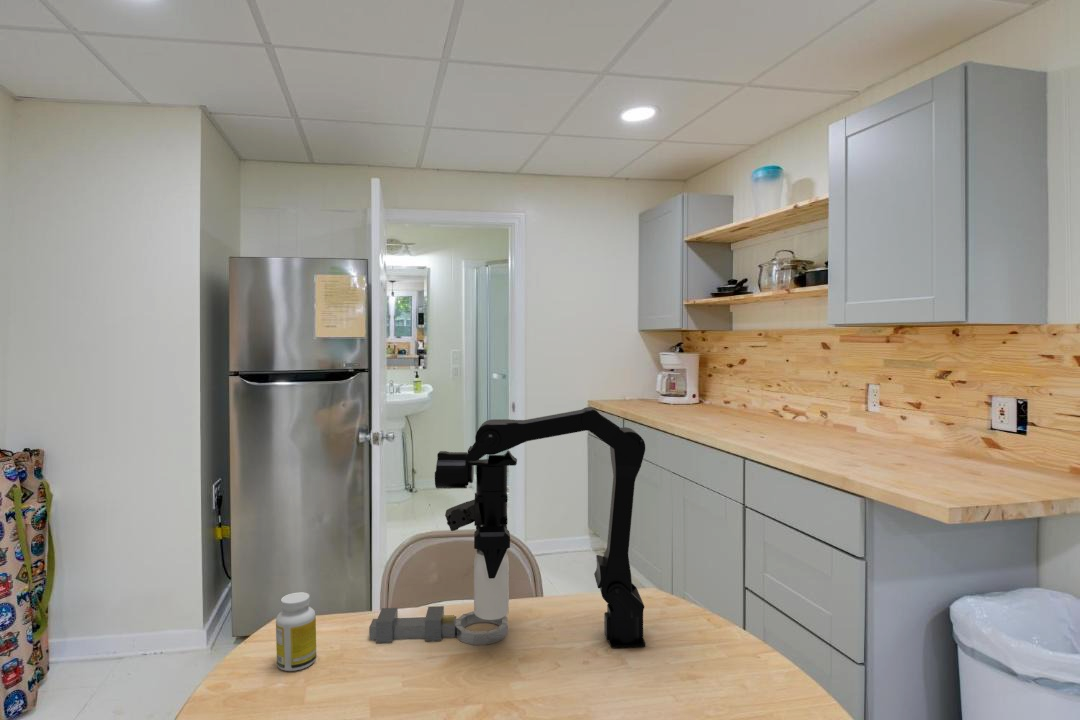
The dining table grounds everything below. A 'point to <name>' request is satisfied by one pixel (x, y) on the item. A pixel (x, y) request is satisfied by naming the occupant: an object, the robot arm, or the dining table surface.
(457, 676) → the dining table surface
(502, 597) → the can
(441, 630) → the shaft seat
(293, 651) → the pill bottle
